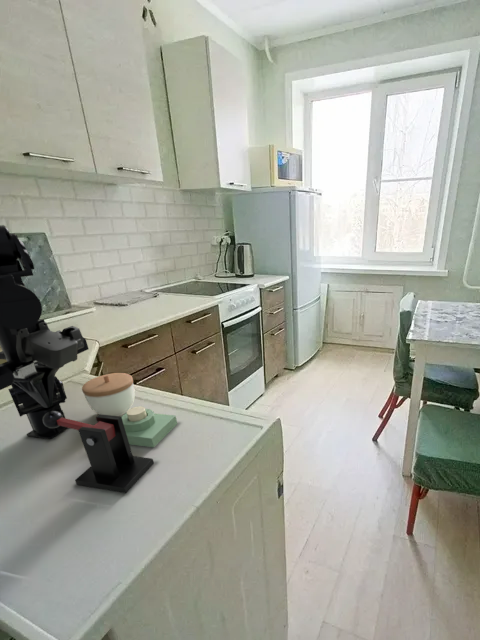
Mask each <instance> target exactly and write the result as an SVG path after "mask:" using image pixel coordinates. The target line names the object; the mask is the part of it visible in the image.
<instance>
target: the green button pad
mask: <svg viewBox="0 0 480 640" xmlns="http://www.w3.org/2000/svg"><path fill="white" fill-rule="evenodd" d="M145 411H146V414H147V417H146V418H144V419H142V420H140V421H135V422H131V421H129V420H128V416H127V413H125V414H123V415H121V417H122V421H123V424H124V428H125V431H126V434H127V438H128V441H129V445H130V446H131V445H133V446H139V447H146V448H155V447H156V446H157V445H158V444H159V443H160V442H161V441H162V440H163V439H164V438H165V437H166V436H167V435H168V434H169V433H171V431H172V430H173V429H174V428H175V427H176V426H177V425H178V421H177V416H176V415H174V414H166V413H165V414H164V413H155V412H154V411H153V410H152V409H150V408H145Z"/></svg>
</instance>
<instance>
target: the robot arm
mask: <svg viewBox="0 0 480 640" xmlns="http://www.w3.org/2000/svg"><path fill="white" fill-rule="evenodd" d="M33 270H35V265H34V262H33V260H32V258H31V256H30V254H29V252H28V250H27V248H26V245H25V244H24V242H23V241H22V240H21V239H19V238H18V235H17V234H16V233H13V232H11V233H10V230H9V228H8V227H7V226H6V225H4V224H1V225H0V348H1V351H0V360H5V361H4V362H3V363H0V391H1V390H3V389H6V388H8V387H10V386H11V388H8V392H9V394H10V397H11V399H12V401H13V403H14V405H15V408H16V411H17V413H18V415H19V417H23V416H25V415H26V417H27V419H28V421H29V424H30V426H31V429H32V430H31V431H29V432H28V433H27V434H26V436H27V437H30V438H37V439H45V440H52V439H53V438H55V437H56V436H58V435H60V434H61V433H62V432H64V431H65V430H67V429H69V428H68V427H64V426H59V427H57V428H48V427H46V426H45V425H44V423H43V417H44V415H45V414H46V413H48V412H50V411H57V412H59V413H61V414H62V416H63V418H66V416H65V413H64V411H63V409H62V407H61V404H64V403H66V401H67V399H68V397H67V395H66V391H65V386H64V383H63V381H61V380H59V378H58V377H57V376H56V374H57V372H58V371H59V370H60V369H62V368H64V367H65V365H67V364H69V363H72V362H76V361H77V360H78V355H79V354H81V353H84V352H86V351H89V345H88V342H87V339H86V338H85V337H83V334H82V332H81V330H80V327H79V328H78V327H77V326H74V325H69V326H67V327H65V328H63V329H62V330H56V331H52V330H51V329H50V328H49V326H48V323H47V322H46V321H45V319H43V318H41V316H42V313H43V307H42V302H41V300H40V299H39V296H37V295H36V294H35V293H34V292H33V291H32V290H31V289H29V288H28V287H27V286H26V284H25V282H23V279H22V278H23V277H24V278H25V277H33V276H34V272H33Z"/></svg>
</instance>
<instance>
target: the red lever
mask: <svg viewBox="0 0 480 640" xmlns="http://www.w3.org/2000/svg"><path fill="white" fill-rule="evenodd" d="M43 423H44V425H45V426H46V427H48V428H57V427H59V426H64V427H68V428H67V429H72V430H76V431H78V430H79V429H80V428H81V427H90V428H98V429H105V431H106V434H107V438H108V441H110V440H111V439H112V438H114V437H115V436H116V435H115V429H114V425H113V424H109V423H105V422H101V421H99V422H96V423H95V424H90V423H86V422H82V421H78V420H74V419H70V418H67V417H65V418H63V416H62V414H61V413H59V412H57V411H50V412H48V413H46V414H45V415H44V417H43Z"/></svg>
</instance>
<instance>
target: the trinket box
mask: <svg viewBox="0 0 480 640" xmlns="http://www.w3.org/2000/svg"><path fill="white" fill-rule="evenodd" d="M81 391H82V393H83V395H84V399H85V401H86V402H87V404H88V406H89V407H90V408H91V410H92V411H93V412H94V413H96V414H98V415H100V414H102V415H111V416H123V415H124V414H125V413H127V411H128V410H129V409H131V408H132V406H133V404H134V402H135V398H136V390H135V384H134V378H133V376H132V375H131V374H128V373H124V372H114V373H107V374H103V375H99V376H97V377H94V378H91V379H89V380H87V381H86V382H85V383H84V384H82V387H81Z"/></svg>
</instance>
